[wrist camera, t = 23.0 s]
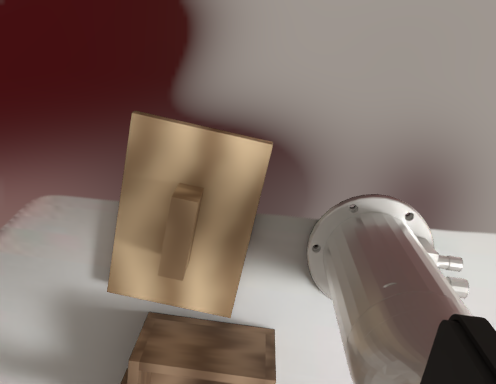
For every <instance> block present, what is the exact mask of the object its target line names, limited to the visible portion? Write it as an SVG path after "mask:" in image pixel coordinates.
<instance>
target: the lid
mask: <svg viewBox="0 0 496 384" xmlns="http://www.w3.org/2000/svg"><path fill="white" fill-rule="evenodd" d="M272 147H273V142H271V141H267V140H262V139H258V138H253V137H249V136H244V135H240V134H235V133H231V132H227V131H223V130H218V129H214V128H209V127H205V126H200V125H196V124H192V123H187V122H183V121H178V120H174V119H170V118H165V117H161V116H156V115H152V114H148V113H143V112H139V111H134V112H132V116H131V123H130V130H129V138H128V145H127V153H126V160H125V167H124V173H123V181H122V188H121V195H120V202H119V209H118V217H117V224H116V231H115V238H114V245H113V252H112V260H111V267H110V274H109V281H108V288H107V292H110V293H115V294H120V295H124V296H129V297H134V298H138V299H143V300H148V301H152V302H157V303H162V304H167V305H171V306H176V307H181V308H185V309H190V310H195V311H199V312H204V313H209V314H213V315H218V316H223V317H228V318H230V317H231V313H232V309H233V305H234V301H235V297H236V293H237V289H238V285H239V281H240V277H241V273H242V269H243V265H244V261H245V256H246V252H247V248H248V244H249V240H250V236H251V232H252V228H253V224H254V220H255V216H256V212H257V207H258V203H259V199H260V195H261V191H262V187H263V183H264V179H265V175H266V171H267V167H268V163H269V158H270V155H271V151H272Z"/></svg>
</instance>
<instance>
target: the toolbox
mask: <svg viewBox="0 0 496 384" xmlns="http://www.w3.org/2000/svg"><path fill="white" fill-rule="evenodd" d="M275 383H276V365H275V330H274V329H267V328H259V327H252V326H245V325H238V324H231V323H224V322H217V321H209V320H202V319H195V318H188V317H181V316H174V315H167V314H159V313H152V312H149V313H148V315H147V318H146V320H145V322H144V325H143V327H142V330H141V332H140V335H139V337H138V339H137V342H136V344H135V347H134V349H133V351H132V354H131V356H130V359H129V364H128V368H127V370H126V372H125V375H124V377H123V379H122V382H121V384H275Z"/></svg>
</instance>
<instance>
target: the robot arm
mask: <svg viewBox="0 0 496 384" xmlns="http://www.w3.org/2000/svg"><path fill="white" fill-rule="evenodd" d="M351 205H355V206H354V207H352V208H351V207H350V206H351ZM407 213H409V215H406V214H407ZM314 245H318V246H316V247H315V246H314ZM307 260H308V267H309V270H310V273H311V276H312V278H313V280H314V282H315V284H316V285H317V287H318V288H319V289H320V290H321V291H322V292H323V293H324V294H325V295H326V296H327V297H328V298H330V299H331V300H332V301H333V306H334V310H335V314H336V318H337V322H338V326H339V330H340V335H341V339H342V343H343V347H344V351H345V355H346V360H347V364H348V367H349V371H350V375H351V378H352V381H353V383H354V384H496V331H495V330H494V328H493V327H492V326H491V324H490V323H489V322H488V321H487V320H486V319H485V318H482V317H475V316H473V315H472V314H471V313H470V312H469V310H468V309H467V307H466V306H465V305H464V303H463V302H462V300H461V299H460V298H464V299H465V298H466V297H467V295H468V293H469V283H468V281H467V280H466V279H462V278H455V277H444V275H443V274H442V272H441V271H440V270H439V268H442V269H446V270H451V271H458V272H460V271H461V270H462V267H463V260H462V258H460V257H453V256H442V255H439V254H438V252H436V251H435V249H434V241H433V237H432V234H431V231H430V229H429V227H428V225H427V223H426V222H425V220H424V219H423V218H422V216H421V215H420V214H419V213H418V212H417V211H416V210H415V209H414V208H412V207H411V206H410V205H408V204H407V203H405V202H403V201H401V200H399V199H396V198H393V197H390V196H386V195H378V194H371V195H361V196H356V197H352V198H350V199H347V200H345V201H342V202H340V203H339V204H337V205H335V206H334V207H332V208H331V209H330V210H328V211H327V212H326V213H325V214H324V215H323V216H322V217H321V218H320V220H319V221H318V222H317V224H316V225H315V227H314V229H313V231H312V233H311V235H310V238H309V242H308V246H307Z"/></svg>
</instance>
